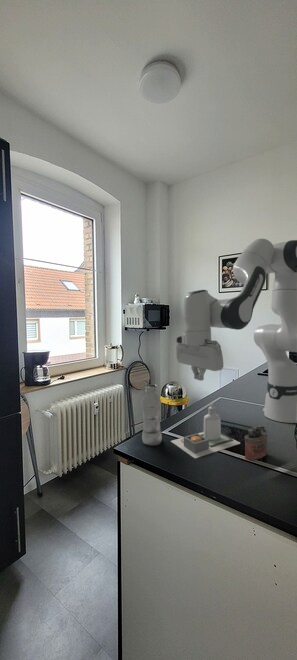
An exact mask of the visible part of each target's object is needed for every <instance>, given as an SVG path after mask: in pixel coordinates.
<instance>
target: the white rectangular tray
mask: <svg viewBox="0 0 297 660" xmlns="http://www.w3.org/2000/svg"><path fill="white" fill-rule="evenodd" d="M192 436H199V437H201V438H202V441H199V442H193V441H192V440H191V437H192ZM170 442H171V443H172V444H174V445H175V446H177V447H178V448H179V449H181V450H182V451H183V452H185V453H187V454H188V455H189V456H191V457H192V458H194V459H198V458H201V457H204V456H208V455H210V454H212V453H216V452H219V451H222V450H225V449H228V448H231V447H234V446H237V445H240V444H241V442H240V441H238V440H235V439H233V438H232V437H230V436H229V435H226V434H225V433H222V432H221V438H220V439H218V440H208V439H207V438H205V437H204V431H202V432H198V433H194V434H190V435H189V434H188V435H186V436H183V437H180V438H177V439H173V440H170Z"/></svg>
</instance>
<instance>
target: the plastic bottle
mask: <svg viewBox="0 0 297 660" xmlns="http://www.w3.org/2000/svg"><path fill="white" fill-rule="evenodd" d="M144 392H145V393H144V395H143V396H142V398H141V402H140V403H141V409H142V421H143V425H142V434H141V439H142V443H143V445H144V444H145V445H146V446H153V447H154V446H158V445H160V444H161V443H162V439H163V436H162V430H161V423H160V421H161V420H160V419H161V418H160V416H161V415H160V414H161V406H162V401H161V398H160V396H159V395H158V394H157V392H158V390H157V385H156V384H147V385H145V389H144Z"/></svg>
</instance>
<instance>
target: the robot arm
mask: <svg viewBox="0 0 297 660" xmlns="http://www.w3.org/2000/svg"><path fill="white" fill-rule="evenodd" d="M232 273H233V276H234V278H235V279H236V280H237V282H239V283H240V284H241V285H243V286H242V289H241V291H240V292H239V294H238V295H235V296H234V297H232V298H224V299H218V298H215V297H213V296H212V295H211V294H210V293H209V291H208V290H206V289H199V290H193V291H189V292H187V293H186V294H185V296H184V299H183V320H184V329H183V331H184V333H183V334H180V335H178V336H176V337H175V343H176V344H177V345H176V349H175V350H176V359H177V363H179V364H182V365H183V364H184V365H187V366H191V367H190V368H191V371H192V373H193V379H194V380H197V381H204V379H205V378H204V375H205V373H206V371H208V370H209V371H212V372H218V371H222V370H223V369H224V358H223V352H222V348H221V344H220V343H219V342H218V341H217V340H212V328H218V329H219V328H220V329H231V330H235V331H236V330H242V329H245V328H246V327H247V326H248V324H250V322H251V320H252V317H253V312H254V309H255V306H256V304H257V302H258V299H259V297H260V295H261V292H262V290H263V288H264V286H265V283H266V280H267V274H274V279H273V285H272V293H271V294H272V295H271V303H270V305H271V307H270V309H271V310H272V312H273V313H274V314H276V315H277V316H279V317H280V318H279V319H281V324H276V323H275V324H273V323H272V324H270V323H269V324H264V325H260V326H258V327H257V328H256V329H255V331H254V333H253V341H254V343H255V344H256V346H257V347H258V348H259V349H260V350H261V351H262V354H264V356H265V359H266V363H267V372H268V375H267V378H268V382H267V385H266V389H267V390H266V391H267V392H266V394H265V401H264V407H263V408H262V412H263V414H264V416H265V417H266V418H268V419H269V420H272V421H276V422H280V423H286V424H287V423H289V424H294V423H295V424H297V364H296V363H295V362H294V361H293V360H292V359H291V358H289V356H288V354H287V352H289V353H291V352H292V353H297V239H293V240H292V239H291V240H288V241H284V242H278V243H272V242H271V241H270V240H268V239H267V238H257V239H255V240H254V241H252V242H251V243H250V244H248V245H247V246H246V248H244V249H243V250H242V252H241V254H240V255H238V257H237V259H236V260H235V262H234V264H233V266H232Z"/></svg>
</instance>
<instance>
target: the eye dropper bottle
mask: <svg viewBox="0 0 297 660" xmlns="http://www.w3.org/2000/svg"><path fill="white" fill-rule="evenodd" d="M221 421H222V419H221V416H220V415H219V414H217V409H216V407H215V406H214V403H210V406H209V407H208V411H207V414H205V415H204V416H203V432H204V437H205V438H207V439H208V440H218V439H220V438H221V433H222V432H221V431H222V430H221V428H222V425H221V424H222V422H221Z"/></svg>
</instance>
